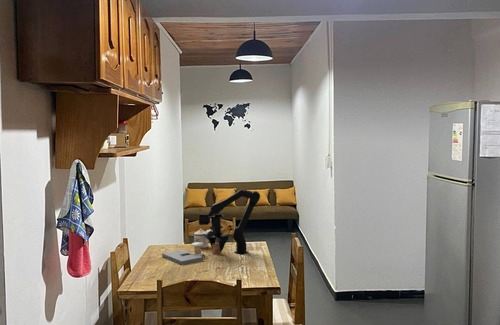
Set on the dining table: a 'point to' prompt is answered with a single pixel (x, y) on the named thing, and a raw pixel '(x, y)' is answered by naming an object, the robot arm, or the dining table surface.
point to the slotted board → (182, 257)
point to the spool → (198, 248)
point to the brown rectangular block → (215, 248)
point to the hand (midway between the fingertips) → (216, 250)
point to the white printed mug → (201, 238)
